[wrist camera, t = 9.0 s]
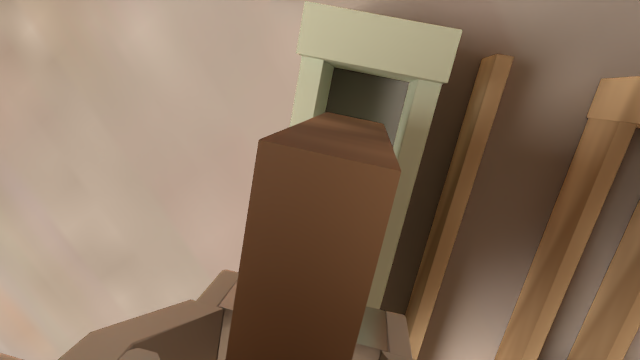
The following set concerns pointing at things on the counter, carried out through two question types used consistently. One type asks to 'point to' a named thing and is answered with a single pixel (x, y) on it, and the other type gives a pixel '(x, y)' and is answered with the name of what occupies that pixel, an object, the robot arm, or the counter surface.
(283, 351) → the walnut sheet
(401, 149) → the stand
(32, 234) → the counter surface
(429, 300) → the rack
